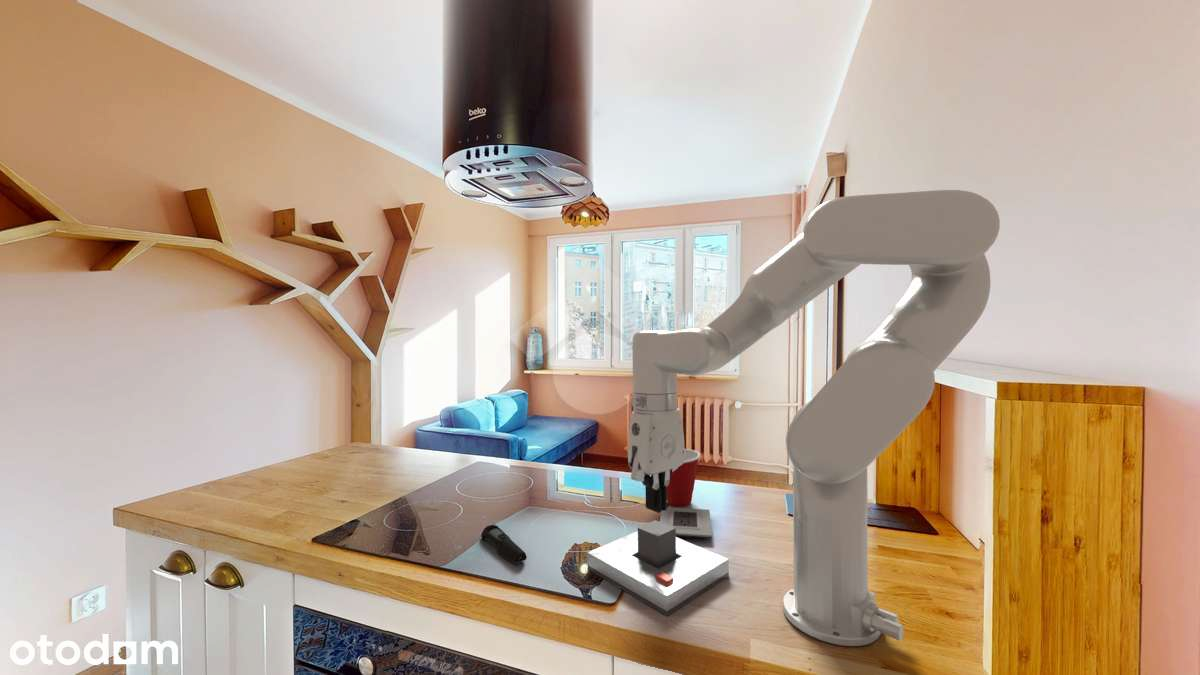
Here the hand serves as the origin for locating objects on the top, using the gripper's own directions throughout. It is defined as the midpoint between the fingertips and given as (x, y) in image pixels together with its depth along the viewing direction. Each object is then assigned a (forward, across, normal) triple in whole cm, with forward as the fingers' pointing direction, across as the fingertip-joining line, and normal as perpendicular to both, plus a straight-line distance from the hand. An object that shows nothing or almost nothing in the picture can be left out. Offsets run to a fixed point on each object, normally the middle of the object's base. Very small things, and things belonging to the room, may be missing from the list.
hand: (656, 508), depth 78 cm
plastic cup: (+11, +28, +18) cm, 35 cm away
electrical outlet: (+12, +18, +8) cm, 23 cm away
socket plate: (+11, 0, 0) cm, 11 cm away
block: (+10, 0, 0) cm, 10 cm away
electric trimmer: (+12, -15, +26) cm, 32 cm away
